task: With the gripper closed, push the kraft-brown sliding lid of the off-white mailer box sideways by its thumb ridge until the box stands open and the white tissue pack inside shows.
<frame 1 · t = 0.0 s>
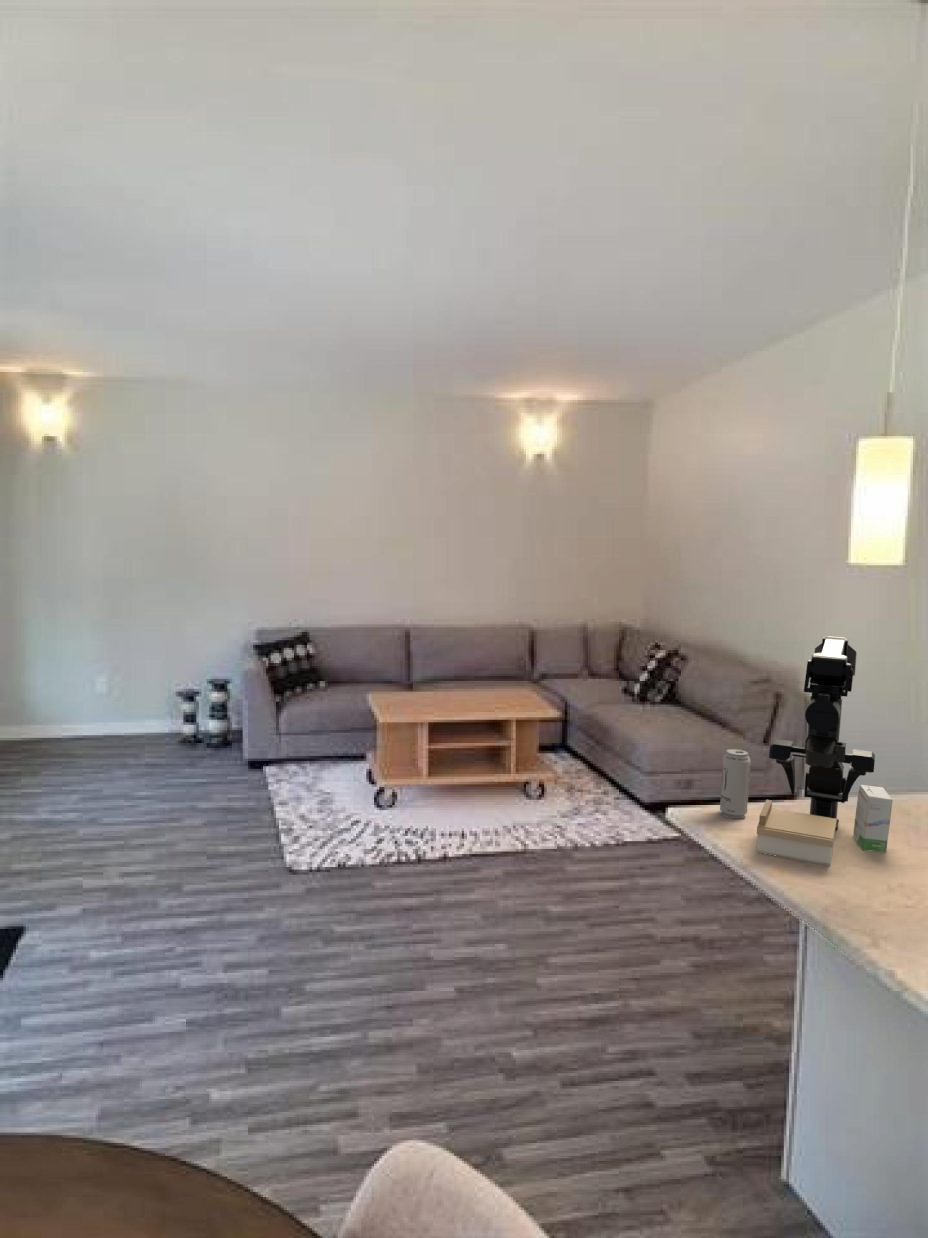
hand: (818, 798, 171), 15 cm above the countertop, tool pointing down, fingers open, 9 cm apart
energy drink can: (733, 815, 203), on the countertop
ink box: (870, 845, 187), on the countertop
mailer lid: (797, 821, 182), point 6 cm above the countertop, slide at 0.0 cm
mailer box: (795, 849, 183), on the countertop
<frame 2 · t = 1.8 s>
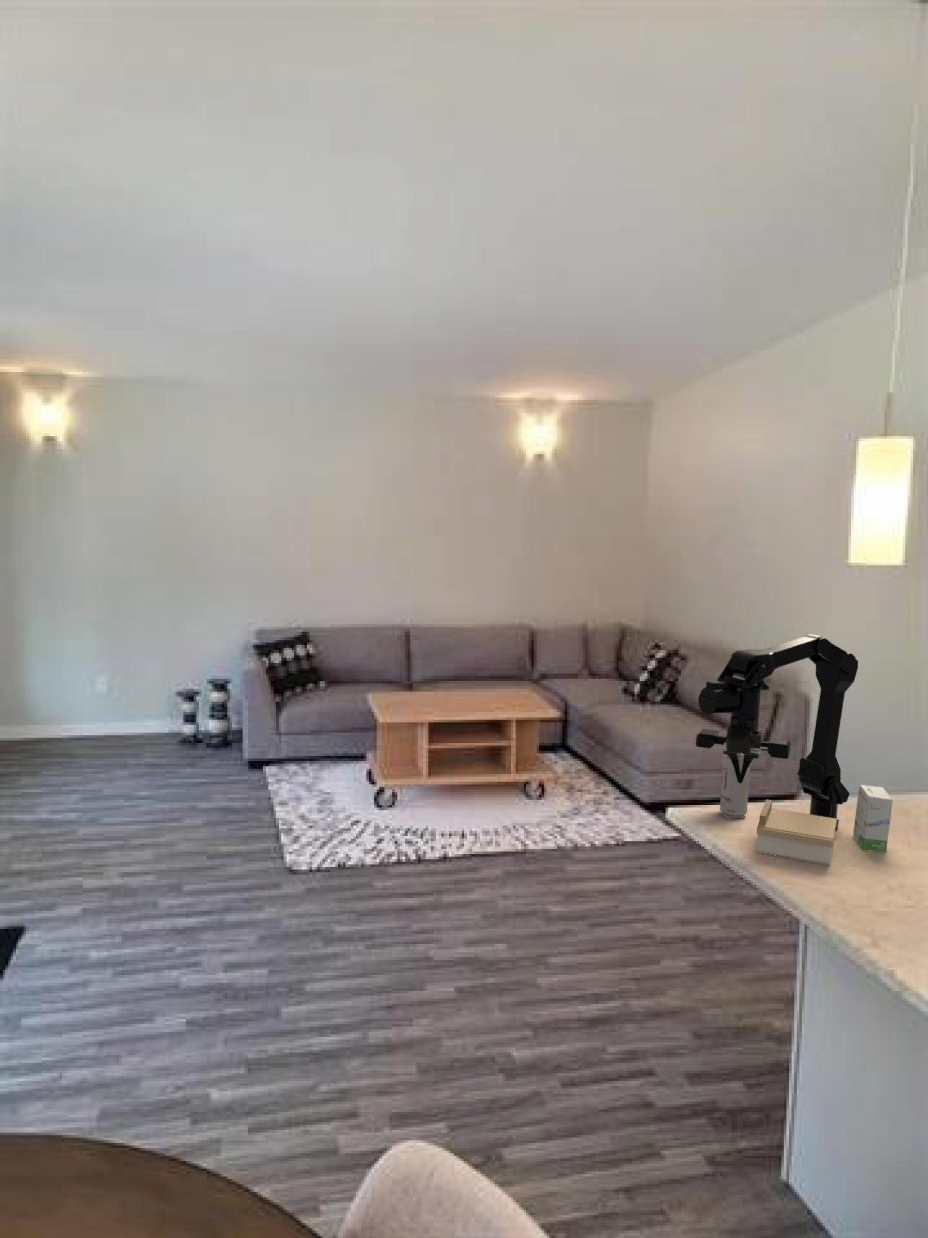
hand: (740, 782, 187), 12 cm above the countertop, tool pointing down, fingers closed
nothing on the countertop moved.
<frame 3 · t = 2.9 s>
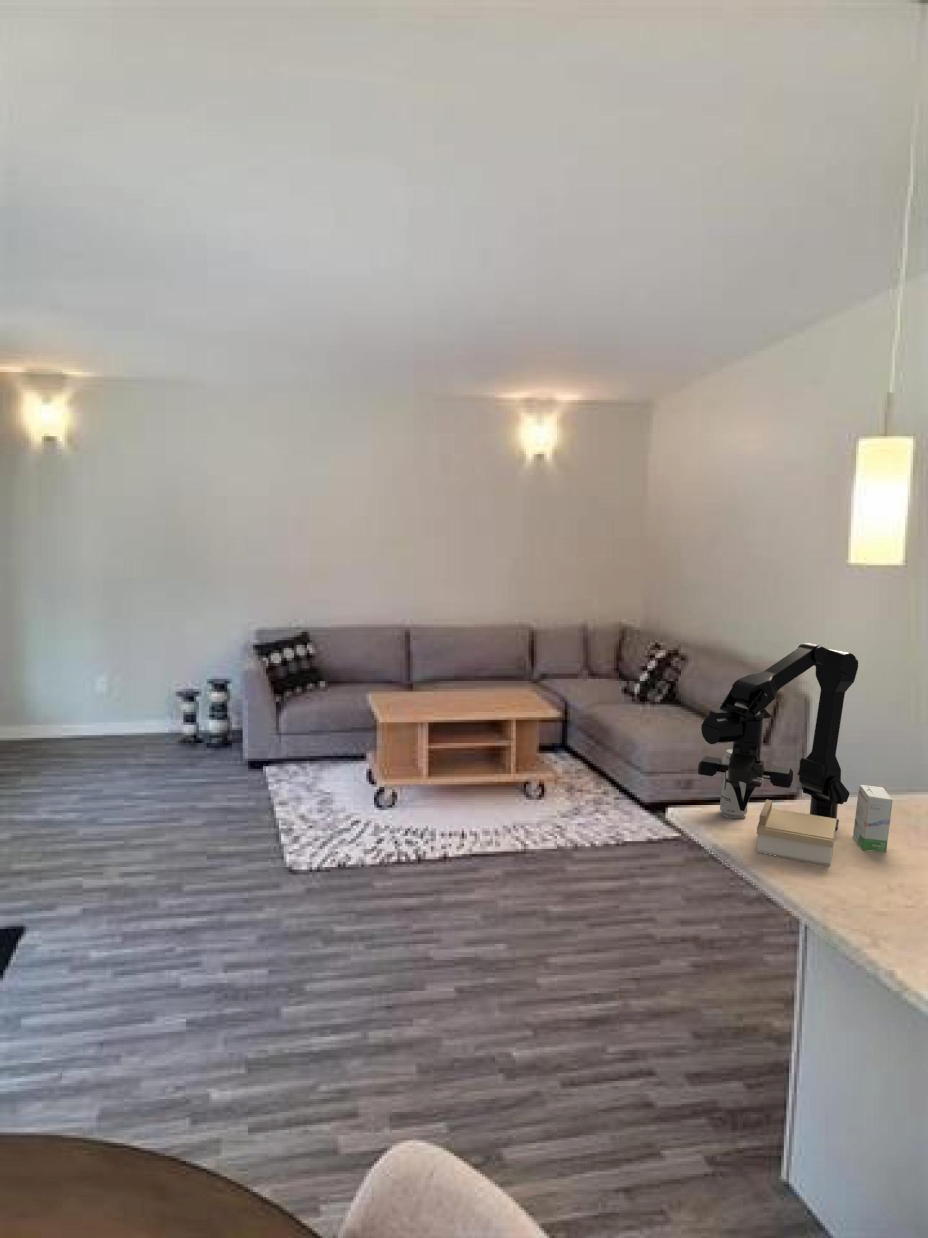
hand: (742, 810, 187), 6 cm above the countertop, tool pointing down, fingers closed
nothing on the countertop moved.
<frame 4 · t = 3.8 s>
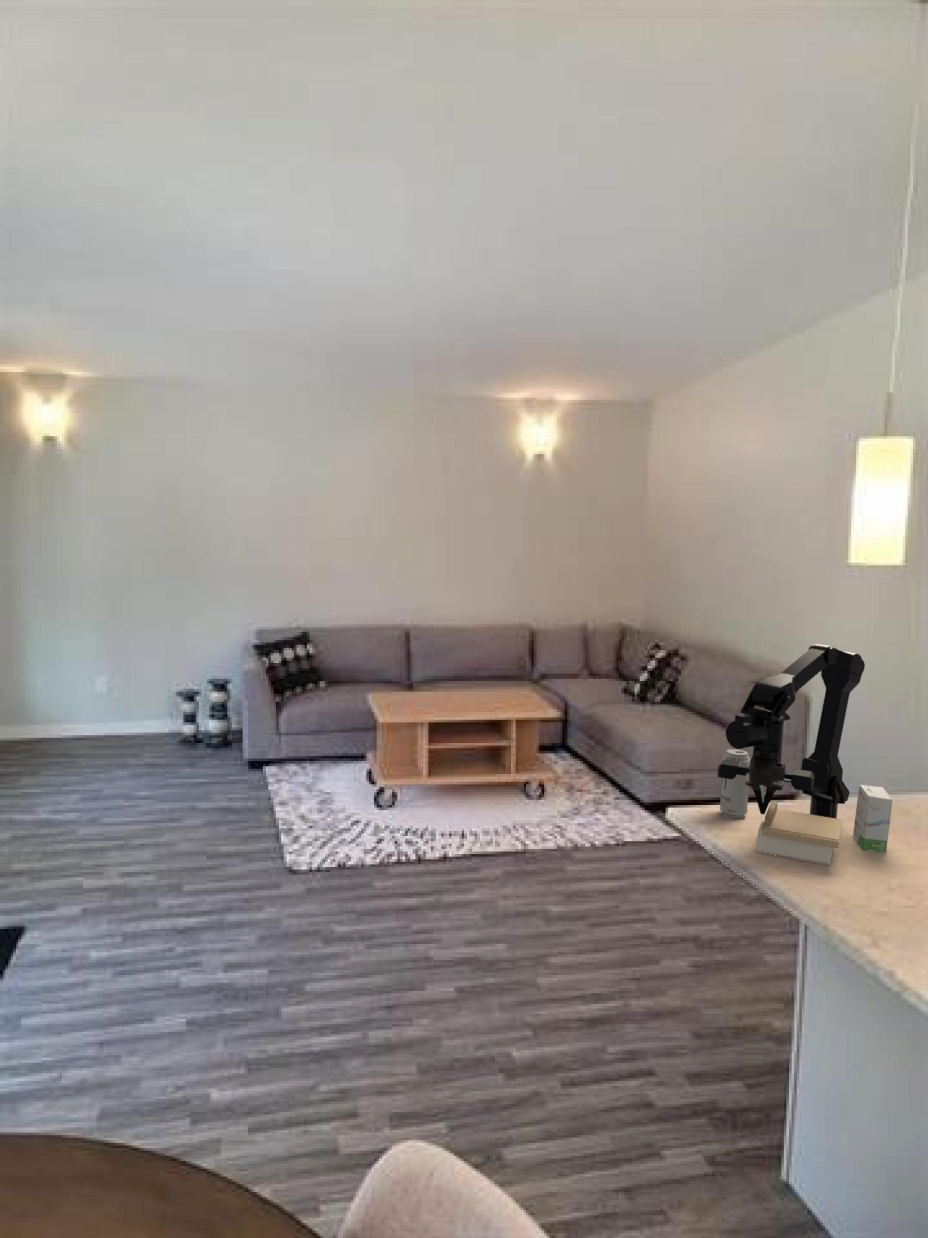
hand: (762, 813, 185), 6 cm above the countertop, tool pointing down, fingers closed
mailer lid: (803, 822, 182), point 6 cm above the countertop, slide at 1.1 cm, touching gripper
everything else where it was.
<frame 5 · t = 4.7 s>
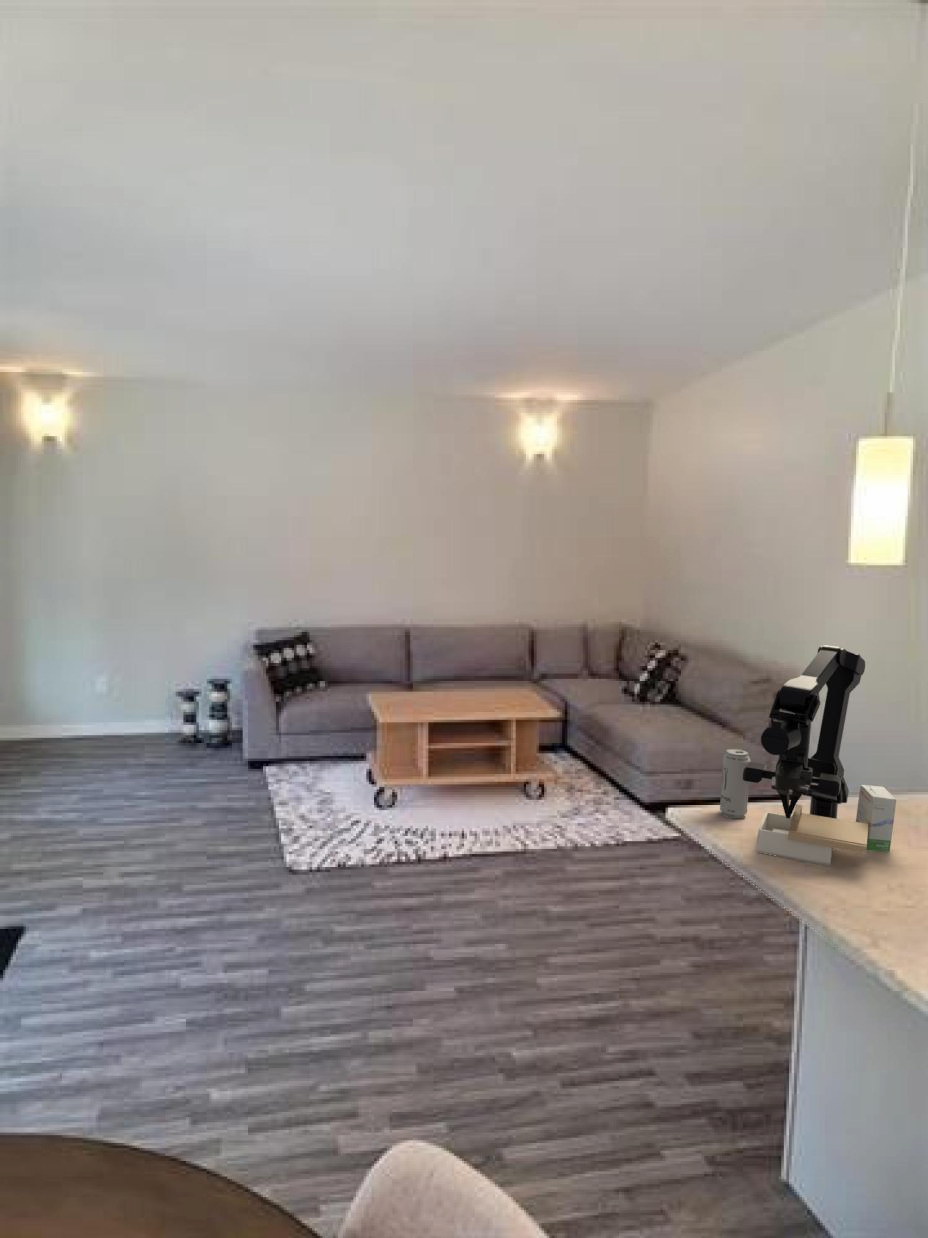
hand: (788, 818, 183), 6 cm above the countertop, tool pointing down, fingers closed
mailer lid: (829, 826, 180), point 6 cm above the countertop, slide at 6.1 cm, touching gripper
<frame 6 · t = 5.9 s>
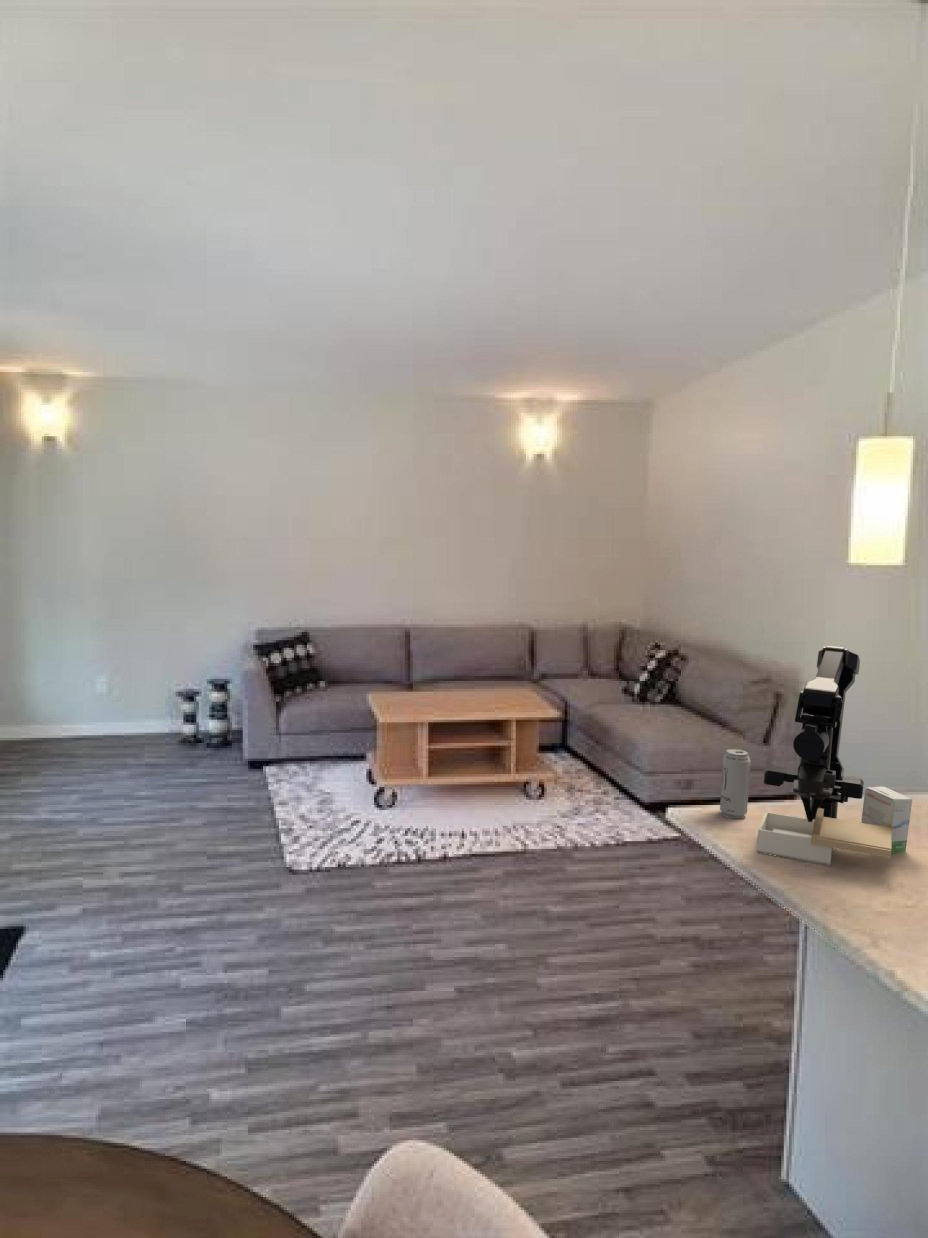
hand: (810, 821, 181), 6 cm above the countertop, tool pointing down, fingers closed
ink box: (882, 846, 187), on the countertop, touching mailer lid
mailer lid: (852, 830, 178), point 6 cm above the countertop, slide at 10.4 cm, touching gripper, ink box
everything else where it was.
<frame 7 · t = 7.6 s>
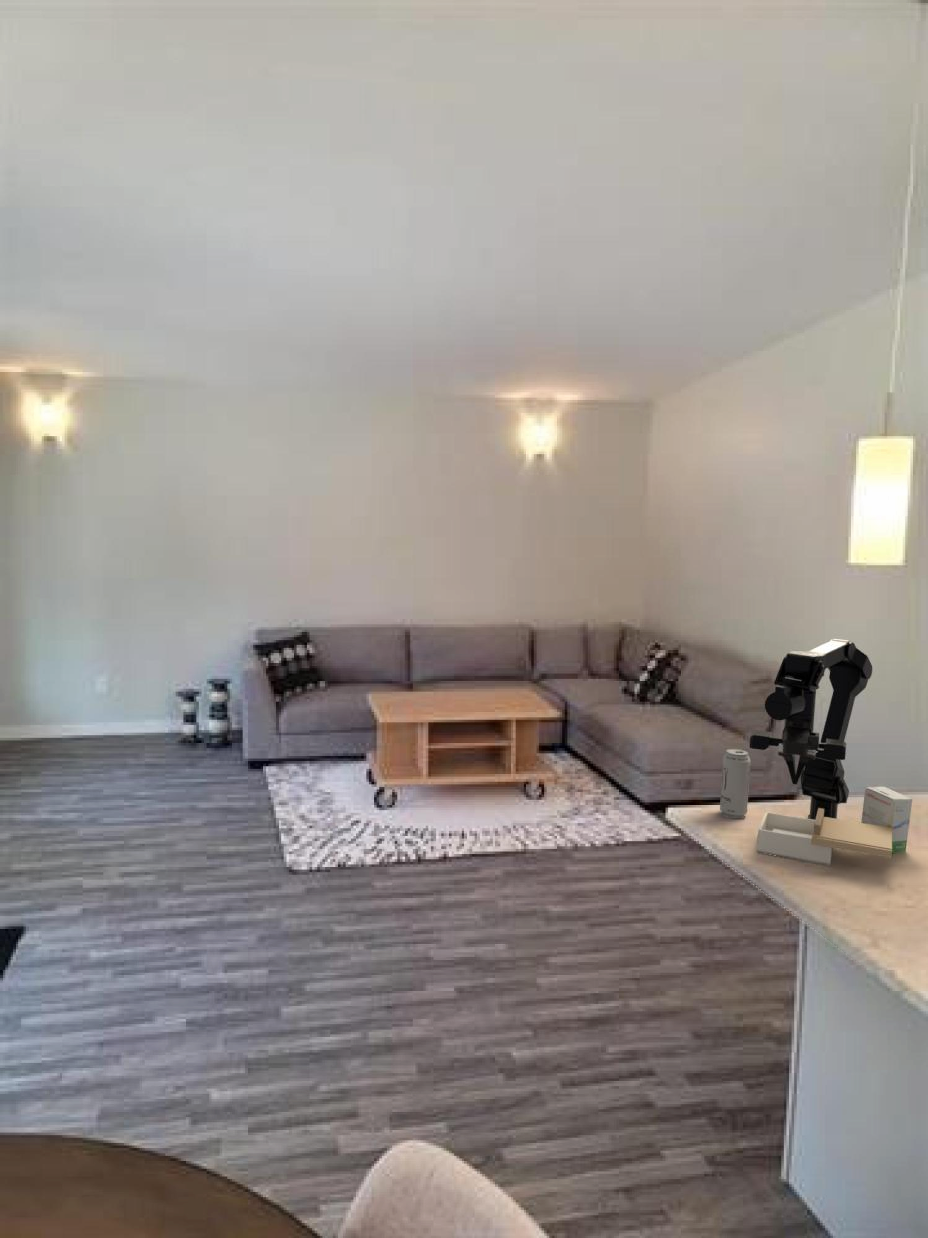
hand: (794, 784, 186), 13 cm above the countertop, tool pointing down, fingers closed
ink box: (882, 846, 187), on the countertop
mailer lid: (852, 830, 178), point 6 cm above the countertop, slide at 10.5 cm
everything else where it was.
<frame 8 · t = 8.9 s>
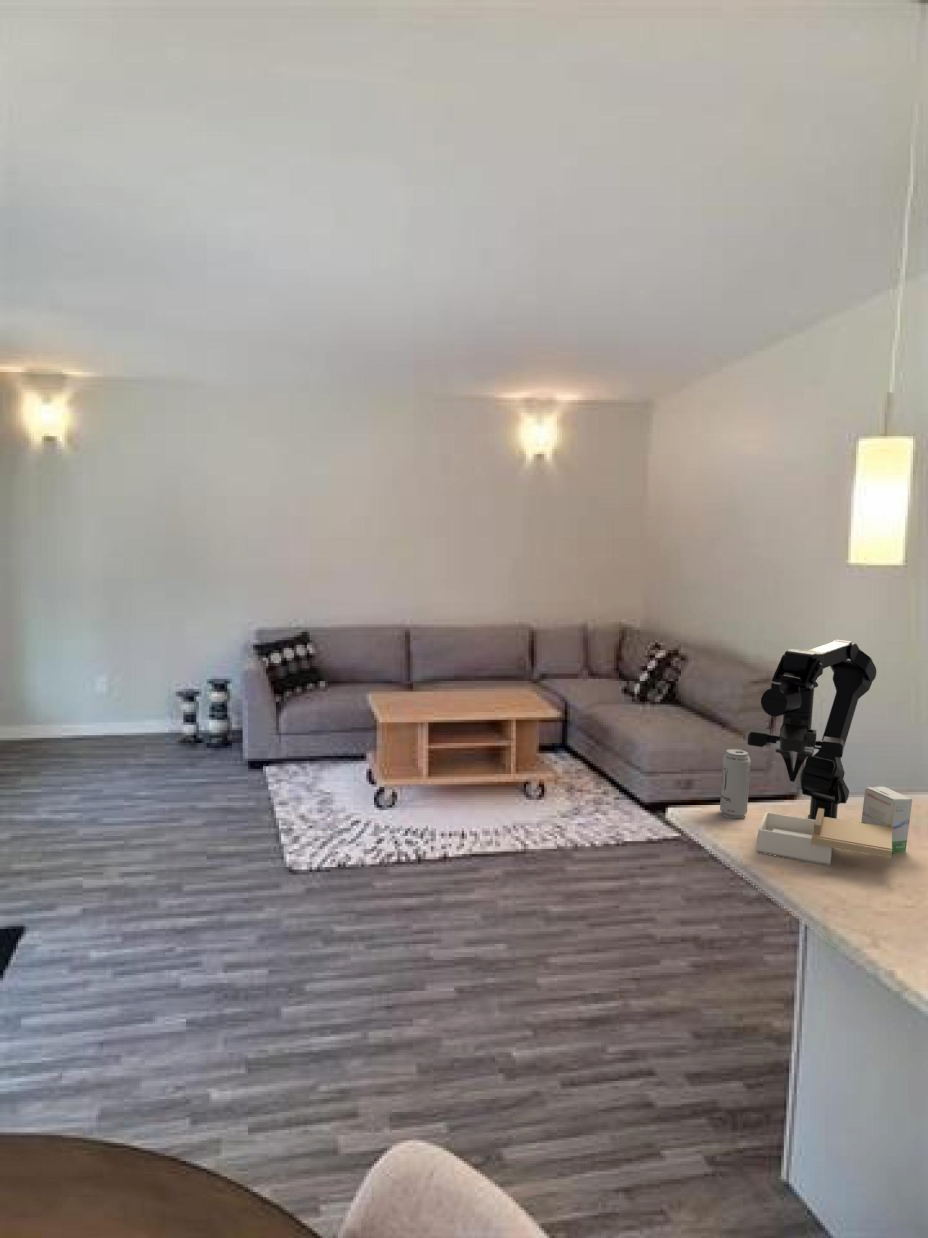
hand: (792, 781, 187), 13 cm above the countertop, tool pointing down, fingers closed
nothing on the countertop moved.
at the end: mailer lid slide at 10.5 cm; the gripper is holding nothing; ink box moved 2.5 cm from its start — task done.
